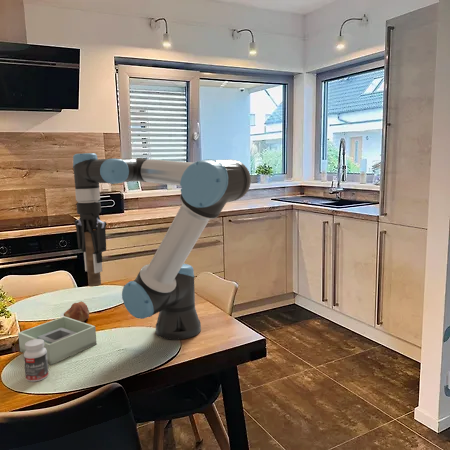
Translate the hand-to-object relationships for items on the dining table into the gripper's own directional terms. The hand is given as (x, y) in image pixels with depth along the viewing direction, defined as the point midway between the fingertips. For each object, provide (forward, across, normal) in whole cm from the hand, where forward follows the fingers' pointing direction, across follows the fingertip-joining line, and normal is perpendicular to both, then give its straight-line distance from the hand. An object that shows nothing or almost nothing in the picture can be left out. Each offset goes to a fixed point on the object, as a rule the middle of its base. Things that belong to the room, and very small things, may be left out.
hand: (93, 271), depth 142 cm
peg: (+5, 0, 0) cm, 5 cm away
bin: (+21, 0, +16) cm, 26 cm away
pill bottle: (+21, -11, +30) cm, 38 cm away
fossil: (+21, +13, -1) cm, 25 cm away
